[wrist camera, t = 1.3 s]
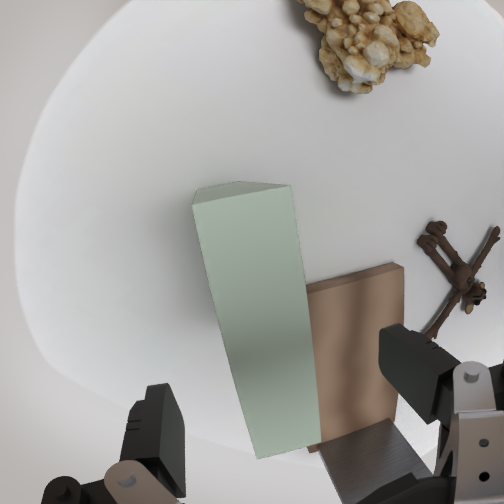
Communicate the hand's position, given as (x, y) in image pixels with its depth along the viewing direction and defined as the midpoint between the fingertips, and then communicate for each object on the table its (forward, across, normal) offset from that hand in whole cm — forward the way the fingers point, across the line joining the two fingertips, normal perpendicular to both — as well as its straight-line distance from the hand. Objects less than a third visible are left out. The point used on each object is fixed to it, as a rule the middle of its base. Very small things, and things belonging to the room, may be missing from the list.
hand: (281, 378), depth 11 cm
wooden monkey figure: (+18, -25, +7) cm, 32 cm away
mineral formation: (+18, -15, -21) cm, 31 cm away
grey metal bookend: (+15, -10, +25) cm, 31 cm away
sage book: (+18, 0, 0) cm, 18 cm away
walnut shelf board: (+18, -10, +15) cm, 25 cm away
